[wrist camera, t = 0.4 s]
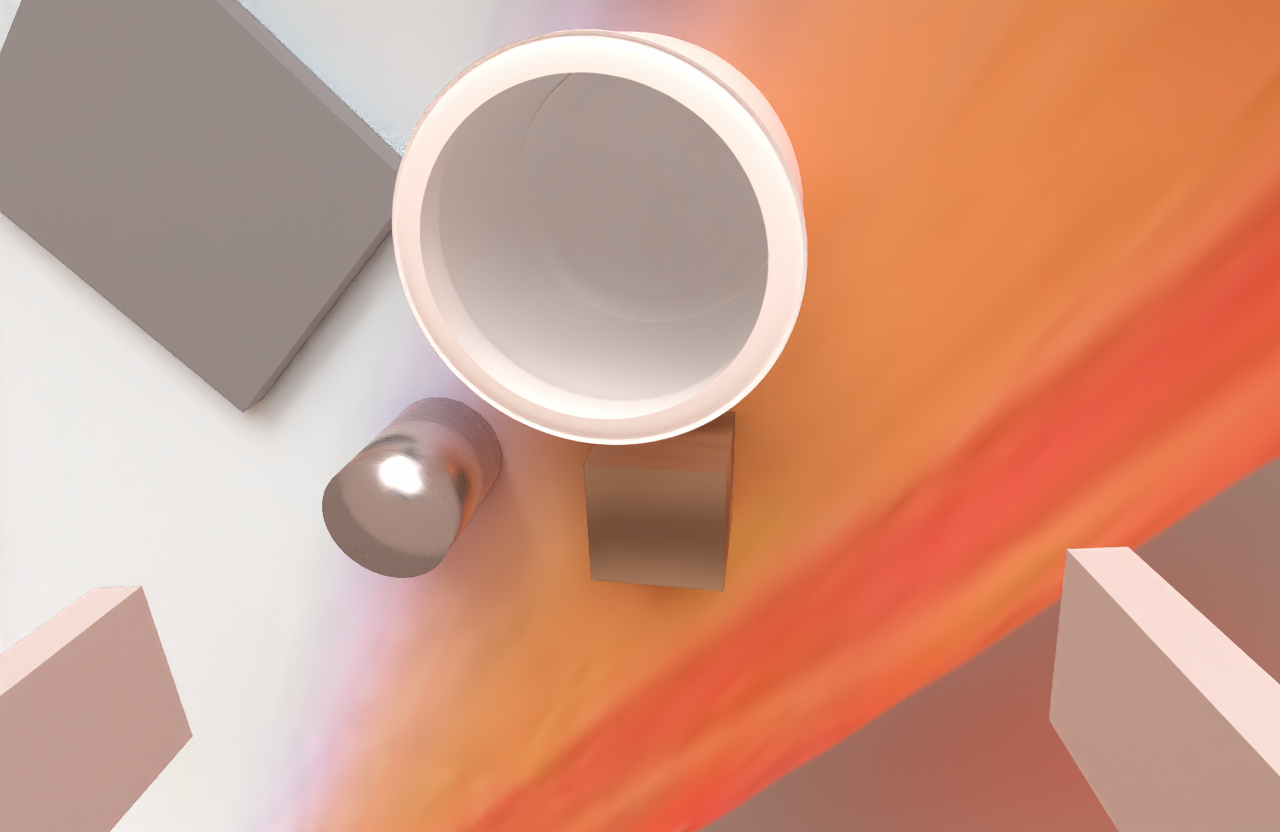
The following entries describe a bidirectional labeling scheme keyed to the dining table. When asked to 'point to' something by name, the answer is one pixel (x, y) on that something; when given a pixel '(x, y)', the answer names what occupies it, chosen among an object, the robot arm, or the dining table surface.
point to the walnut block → (663, 508)
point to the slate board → (190, 176)
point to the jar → (602, 233)
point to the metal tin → (413, 488)
